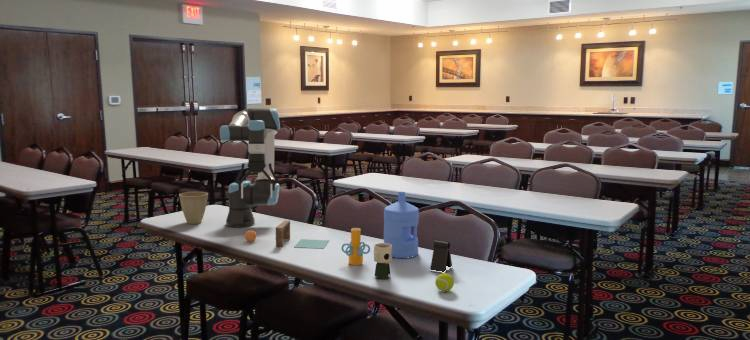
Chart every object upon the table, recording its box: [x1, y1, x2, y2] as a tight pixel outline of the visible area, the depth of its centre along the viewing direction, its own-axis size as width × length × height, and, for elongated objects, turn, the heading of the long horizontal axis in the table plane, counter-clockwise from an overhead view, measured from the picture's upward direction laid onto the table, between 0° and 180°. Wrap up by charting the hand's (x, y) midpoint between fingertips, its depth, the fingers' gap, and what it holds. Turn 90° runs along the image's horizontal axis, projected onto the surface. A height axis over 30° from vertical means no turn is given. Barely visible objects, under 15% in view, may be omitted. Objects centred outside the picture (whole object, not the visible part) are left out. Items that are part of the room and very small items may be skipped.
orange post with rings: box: [340, 227, 371, 266], centre depth 236 cm, size 12×10×15 cm
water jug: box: [383, 191, 420, 259], centre depth 250 cm, size 16×16×28 cm
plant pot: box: [178, 191, 209, 225], centre depth 306 cm, size 15×15×16 cm
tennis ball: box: [434, 272, 455, 292], centre depth 205 cm, size 7×7×7 cm
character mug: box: [373, 242, 393, 279], centre depth 219 cm, size 11×7×13 cm, turn 146°
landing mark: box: [294, 238, 330, 250], centre depth 267 cm, size 14×14×1 cm
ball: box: [244, 229, 258, 243], centre depth 270 cm, size 6×6×6 cm
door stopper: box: [429, 239, 453, 272], centre depth 230 cm, size 9×6×12 cm, turn 149°
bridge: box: [275, 220, 291, 248], centre depth 268 cm, size 3×14×9 cm, turn 174°
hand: (256, 198), depth 265 cm, fingers open, 13 cm apart
